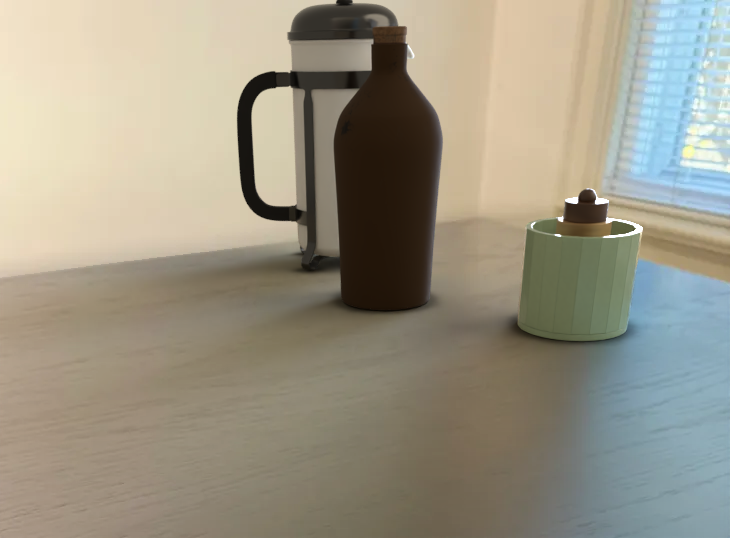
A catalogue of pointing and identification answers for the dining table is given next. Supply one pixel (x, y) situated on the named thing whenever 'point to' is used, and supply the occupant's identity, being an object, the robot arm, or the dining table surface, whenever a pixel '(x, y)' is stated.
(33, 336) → the dining table surface
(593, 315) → the cup
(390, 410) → the dining table surface
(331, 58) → the coffee press
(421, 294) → the olive oil
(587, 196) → the pepper mill
